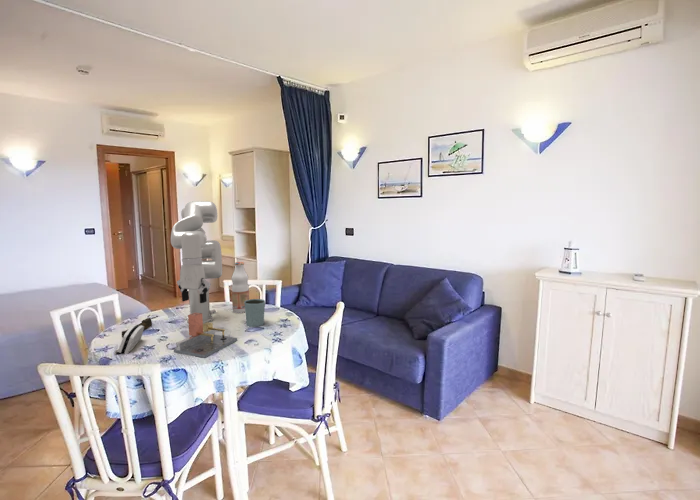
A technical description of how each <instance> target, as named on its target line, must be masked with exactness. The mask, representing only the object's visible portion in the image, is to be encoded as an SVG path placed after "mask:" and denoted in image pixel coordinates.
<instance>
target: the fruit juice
mask: <svg viewBox="0 0 700 500" xmlns="http://www.w3.org/2000/svg"><path fill="white" fill-rule="evenodd" d="M244 265H245V262H244V261H236V262H235V263H234V266H235V267H234V271H233V272H232V273H233V274H232V275H231V282H232V285H231V304H232V312H233V313H235V314H244V313H245V304H244V302H245V301H246V300H250V287H249V283H248V282H249V276H248V274H247V272H246V270H245V266H244ZM243 312H244V313H243Z"/></svg>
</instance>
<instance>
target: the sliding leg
mask: <svg viewBox="0 0 700 500" xmlns="http://www.w3.org/2000/svg"><path fill="white" fill-rule="evenodd" d="M187 320H188V323H187V324H188V335H189V337H191V336H196V337H197V336H199V335H203V336H210V337H211V344H213V337H214V334H207V333H203V318H202V313H192V314H190V313H189V314H188V315H187Z"/></svg>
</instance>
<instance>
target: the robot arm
mask: <svg viewBox="0 0 700 500" xmlns="http://www.w3.org/2000/svg"><path fill="white" fill-rule="evenodd" d="M180 213H181V219H180V220H179V221H177V222H176V223H175V224H174V225H173V226H172V228H171V232H170V244H171V246H172V247H173V248H174V249H177V250H178V249H179V250H181V257H182V258H181V263H182V265H181V267H180V271H179V279H178V280H177V281H176V284H177V286H178V287H177V288H178V289H179V291H180V292H181V302H187V301H189V314H192V313H202V318H203V324H204V323H207V322H210V323H212V322H213V321H214V316H213V314H216V313H217V310H216V309H212V310H210V309H211V308H210V307H211V306H210V291H209V290H210V288H211V283H210V282H209V281H208V280H212V279H220V278H221V277H222V276H223V259H222V258H223V257H222V247H221V243H220V242H219V241H218V240H211V239H210V240H207V235H206V232H205V230H204V229H203V225H204V224H208V223H209V224H211V223H216V221H217V220H218V209H217V206H216V204H215V202H213V201H210V200H206V201H205V200H201V201H200V200H196V201H195V200H193V201H188V202H187V203H186V204H185V206H184V208H182V209H181V211H180ZM207 259H208V260H207ZM209 259H210V260H209ZM186 322H187V324H188V319H186Z"/></svg>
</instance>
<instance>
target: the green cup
mask: <svg viewBox="0 0 700 500" xmlns="http://www.w3.org/2000/svg"><path fill="white" fill-rule="evenodd" d="M244 304H245V312H244V313H245V320H246V321H245V326H246V327H248V326H249V328H258V327H261V325H262V326H264V322H265V311H266V310H265V307H266V300H264V299H261V298H251V299H250V298H249V300H246V301H245V302H244Z"/></svg>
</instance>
